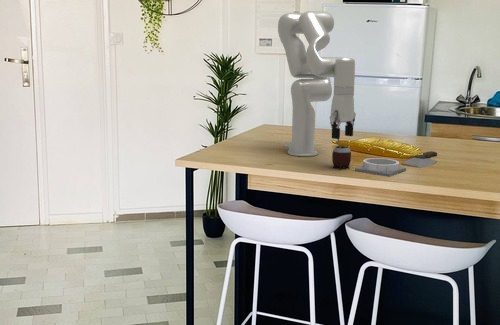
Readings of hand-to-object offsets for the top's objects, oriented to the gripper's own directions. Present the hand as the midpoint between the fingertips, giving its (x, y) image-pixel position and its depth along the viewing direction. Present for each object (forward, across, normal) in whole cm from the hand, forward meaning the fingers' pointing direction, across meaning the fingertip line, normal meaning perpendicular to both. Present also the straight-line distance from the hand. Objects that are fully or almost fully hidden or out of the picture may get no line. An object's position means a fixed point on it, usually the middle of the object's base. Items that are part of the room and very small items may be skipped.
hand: (342, 137), depth 226 cm
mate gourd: (+12, 0, -1) cm, 12 cm away
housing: (+12, -6, +13) cm, 19 cm away
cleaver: (+13, -36, +18) cm, 42 cm away
